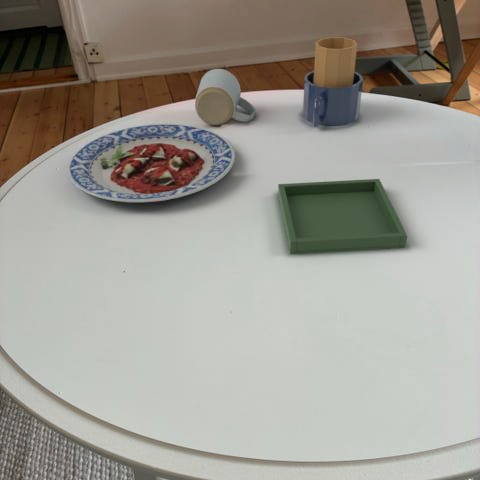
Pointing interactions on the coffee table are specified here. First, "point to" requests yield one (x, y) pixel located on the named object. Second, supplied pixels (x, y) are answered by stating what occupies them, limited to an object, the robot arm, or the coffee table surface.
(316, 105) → the blue mug
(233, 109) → the ceramic mug
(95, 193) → the ceramic plate
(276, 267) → the coffee table surface
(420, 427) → the coffee table surface
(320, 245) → the green tray
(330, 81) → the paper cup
